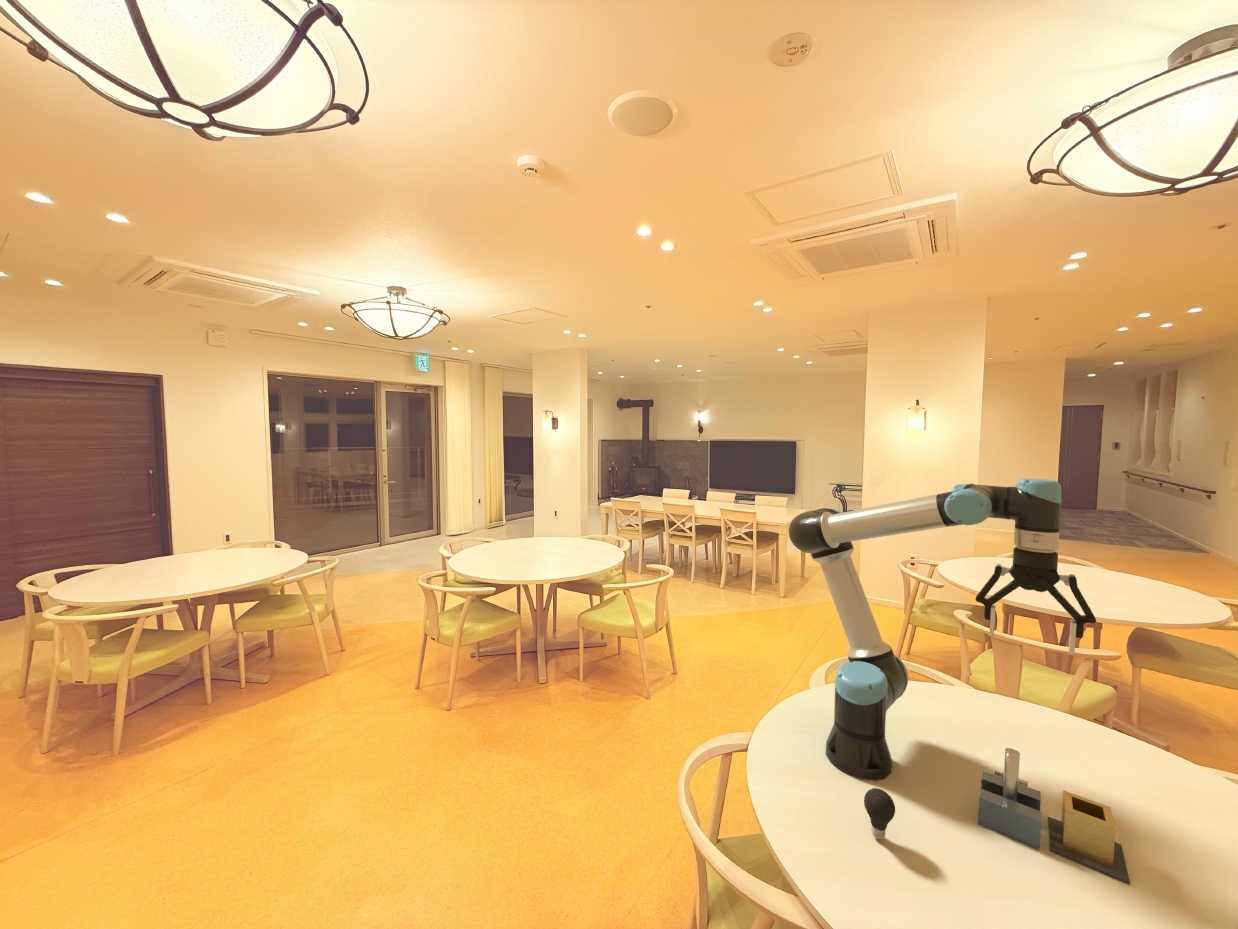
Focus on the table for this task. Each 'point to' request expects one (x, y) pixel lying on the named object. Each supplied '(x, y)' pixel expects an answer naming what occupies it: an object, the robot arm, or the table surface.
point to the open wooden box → (1088, 828)
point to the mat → (1057, 848)
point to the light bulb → (879, 811)
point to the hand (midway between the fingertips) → (1030, 642)
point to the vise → (1010, 804)
